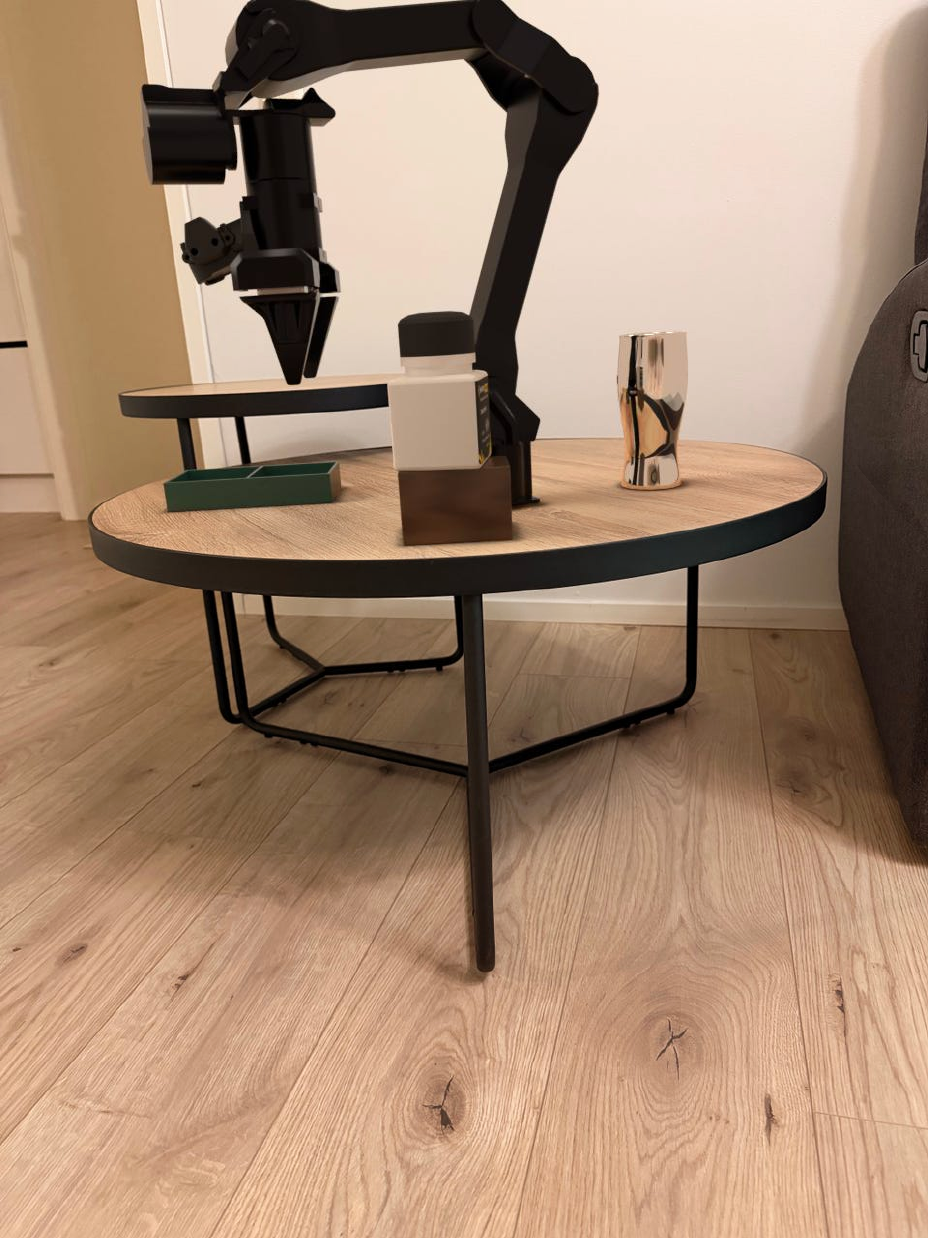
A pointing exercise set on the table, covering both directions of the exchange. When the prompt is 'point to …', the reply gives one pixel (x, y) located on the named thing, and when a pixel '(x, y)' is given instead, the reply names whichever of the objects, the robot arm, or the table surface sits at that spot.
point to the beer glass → (652, 406)
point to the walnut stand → (457, 504)
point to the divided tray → (253, 486)
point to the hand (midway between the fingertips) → (302, 381)
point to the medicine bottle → (439, 396)
